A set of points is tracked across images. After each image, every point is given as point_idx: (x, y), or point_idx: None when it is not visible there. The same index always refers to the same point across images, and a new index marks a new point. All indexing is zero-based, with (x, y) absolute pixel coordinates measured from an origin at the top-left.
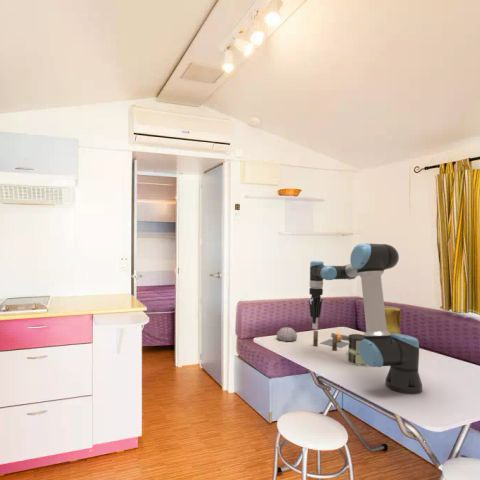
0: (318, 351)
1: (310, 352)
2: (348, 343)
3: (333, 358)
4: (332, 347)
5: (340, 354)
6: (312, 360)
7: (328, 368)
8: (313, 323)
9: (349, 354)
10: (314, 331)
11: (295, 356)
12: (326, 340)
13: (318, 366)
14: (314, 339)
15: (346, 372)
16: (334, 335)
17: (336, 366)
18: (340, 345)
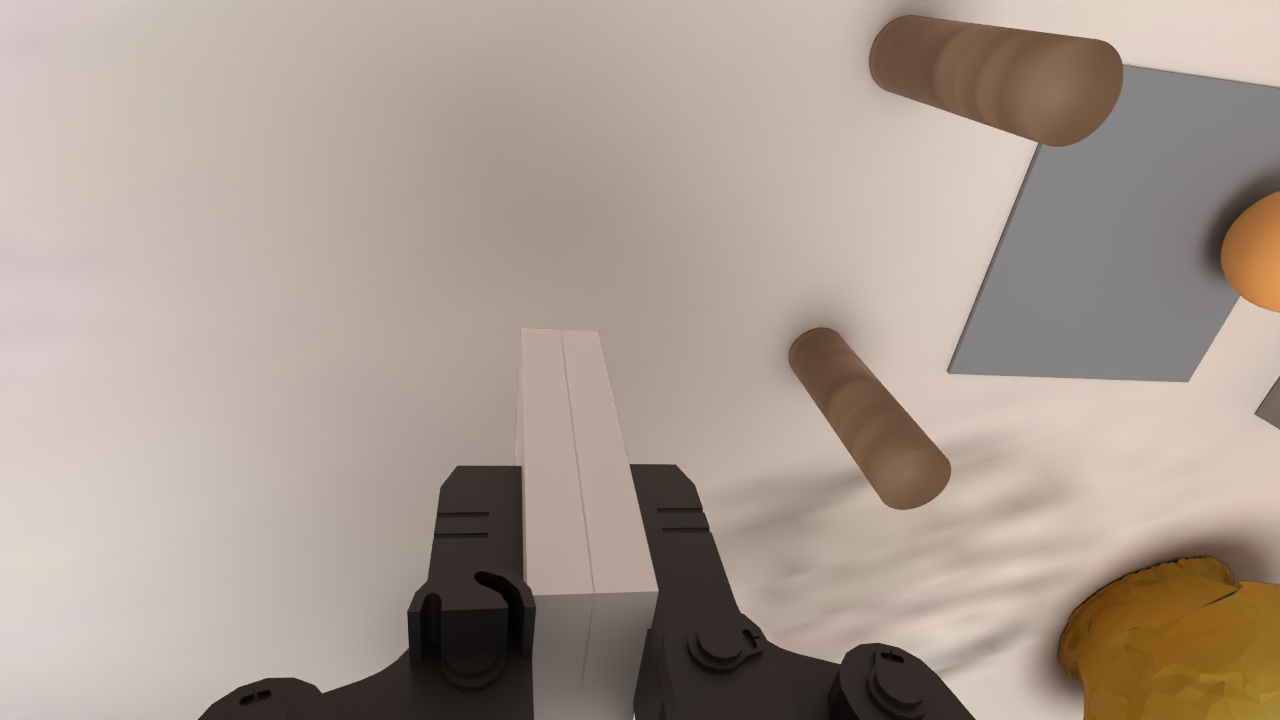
0: (630, 219)
1: (497, 144)
2: (1170, 372)
3: None
4: (812, 353)
5: (676, 463)
6: (157, 329)
7: (69, 567)
8: (520, 452)
9: None
10: (1034, 79)
11: (72, 28)
12: (1262, 88)
13: (12, 476)
14: (930, 62)
15: (137, 695)
16: (878, 486)
17: (218, 588)
18: (1046, 337)
